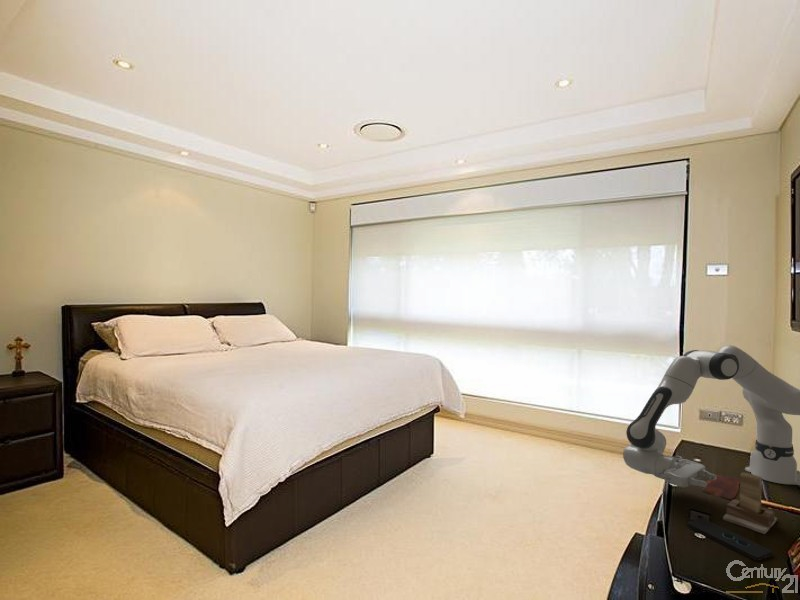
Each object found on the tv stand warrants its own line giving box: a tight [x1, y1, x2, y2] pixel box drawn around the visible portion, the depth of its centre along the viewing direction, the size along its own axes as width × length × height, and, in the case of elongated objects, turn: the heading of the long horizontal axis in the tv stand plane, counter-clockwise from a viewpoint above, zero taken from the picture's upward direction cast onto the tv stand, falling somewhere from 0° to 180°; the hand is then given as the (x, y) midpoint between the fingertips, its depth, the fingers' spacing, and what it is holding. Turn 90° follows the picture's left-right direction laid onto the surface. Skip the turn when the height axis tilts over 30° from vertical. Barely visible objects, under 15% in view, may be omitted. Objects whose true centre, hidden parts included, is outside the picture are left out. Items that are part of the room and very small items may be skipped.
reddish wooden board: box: [701, 473, 740, 501], centre depth 172 cm, size 27×10×2 cm, turn 135°
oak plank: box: [739, 471, 763, 514], centre depth 145 cm, size 3×5×14 cm, turn 37°
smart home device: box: [687, 518, 774, 560], centre depth 133 cm, size 8×2×20 cm
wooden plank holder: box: [722, 498, 778, 535], centre depth 145 cm, size 14×11×4 cm
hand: (710, 481), depth 154 cm, fingers open, 8 cm apart
